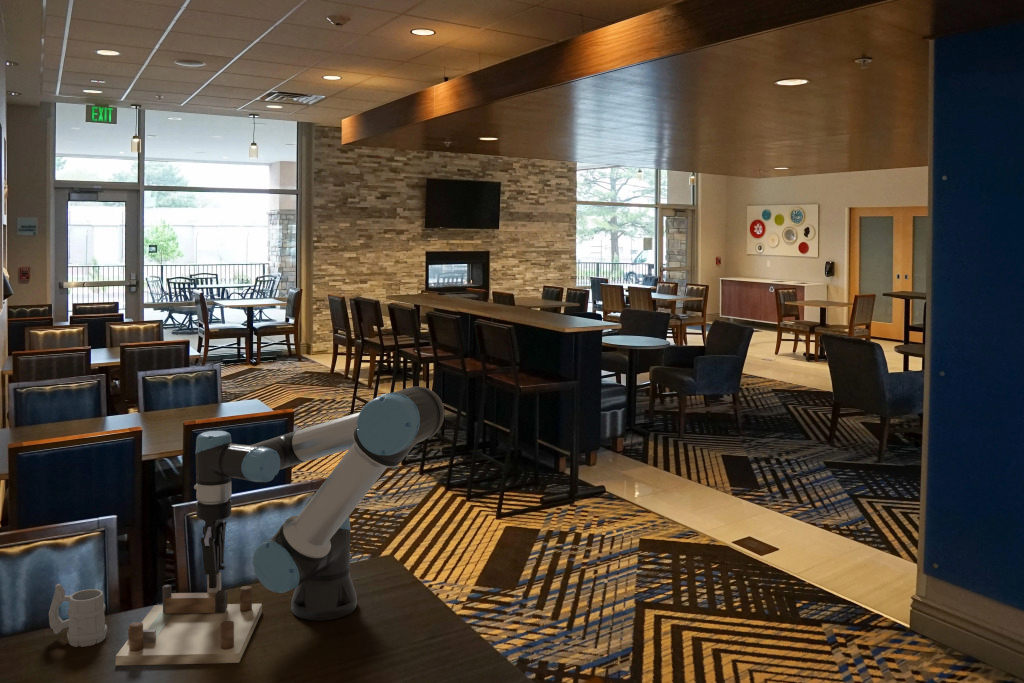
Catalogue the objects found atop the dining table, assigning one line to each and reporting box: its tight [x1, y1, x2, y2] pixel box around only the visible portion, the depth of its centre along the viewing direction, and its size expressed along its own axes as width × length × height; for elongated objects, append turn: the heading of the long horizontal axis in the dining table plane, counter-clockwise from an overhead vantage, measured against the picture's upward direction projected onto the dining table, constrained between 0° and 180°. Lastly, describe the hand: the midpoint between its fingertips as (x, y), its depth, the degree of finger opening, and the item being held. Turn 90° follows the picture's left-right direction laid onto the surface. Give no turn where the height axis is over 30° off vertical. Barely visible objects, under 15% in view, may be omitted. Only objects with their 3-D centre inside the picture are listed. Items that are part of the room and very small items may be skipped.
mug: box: [48, 583, 108, 648], centre depth 174 cm, size 8×12×12 cm, turn 91°
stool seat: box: [115, 585, 263, 666], centre depth 177 cm, size 24×24×7 cm
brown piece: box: [162, 584, 228, 614], centre depth 184 cm, size 14×3×6 cm, turn 96°
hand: (214, 599), depth 188 cm, fingers closed
